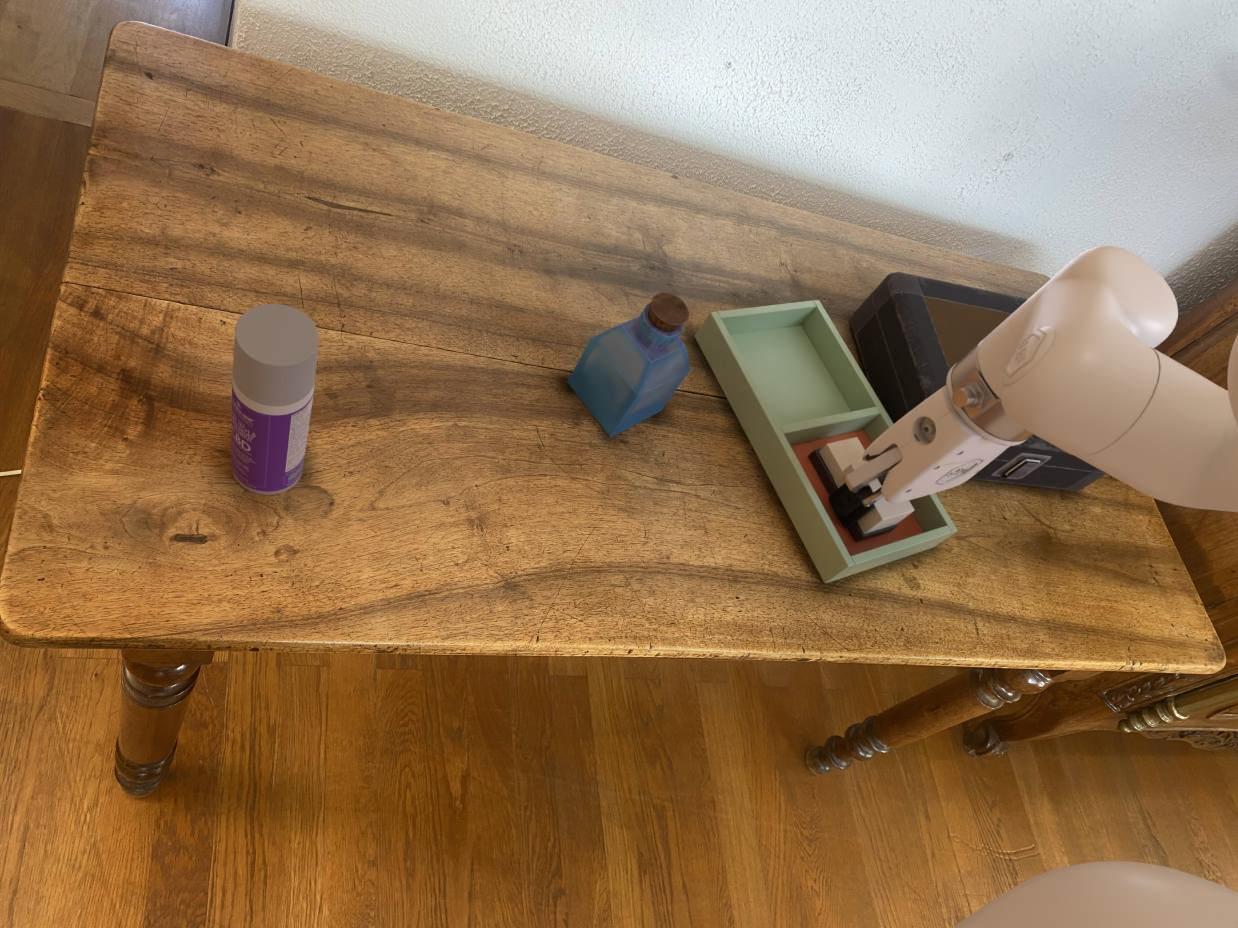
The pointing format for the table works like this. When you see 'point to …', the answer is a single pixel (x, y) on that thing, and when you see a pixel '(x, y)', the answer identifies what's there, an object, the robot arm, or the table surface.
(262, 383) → the container
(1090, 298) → the robot arm
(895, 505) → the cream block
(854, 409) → the tray
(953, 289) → the cash box
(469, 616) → the table surface
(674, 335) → the perfume bottle
